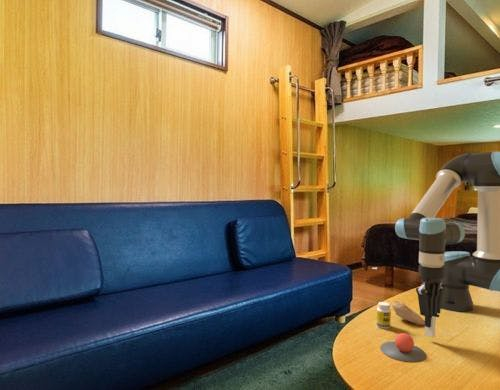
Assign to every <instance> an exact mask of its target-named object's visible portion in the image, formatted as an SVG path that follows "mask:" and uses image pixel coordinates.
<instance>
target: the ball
mask: <svg viewBox="0 0 500 390" xmlns="http://www.w3.org/2000/svg"><path fill="white" fill-rule="evenodd" d="M394 342H395V345H396V347H397V348H398V349H399V350H400V351H402V352H410V351H411V350H412V349H413V347H414V346H415V341H414V339H413V337H412V336H411V335H410V334H408V333H405V332H403V333H401V332H400V333H398V334H397V335H396V336H395V338H394Z"/></svg>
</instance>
